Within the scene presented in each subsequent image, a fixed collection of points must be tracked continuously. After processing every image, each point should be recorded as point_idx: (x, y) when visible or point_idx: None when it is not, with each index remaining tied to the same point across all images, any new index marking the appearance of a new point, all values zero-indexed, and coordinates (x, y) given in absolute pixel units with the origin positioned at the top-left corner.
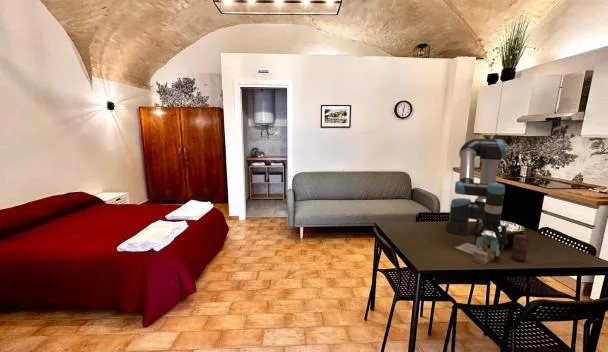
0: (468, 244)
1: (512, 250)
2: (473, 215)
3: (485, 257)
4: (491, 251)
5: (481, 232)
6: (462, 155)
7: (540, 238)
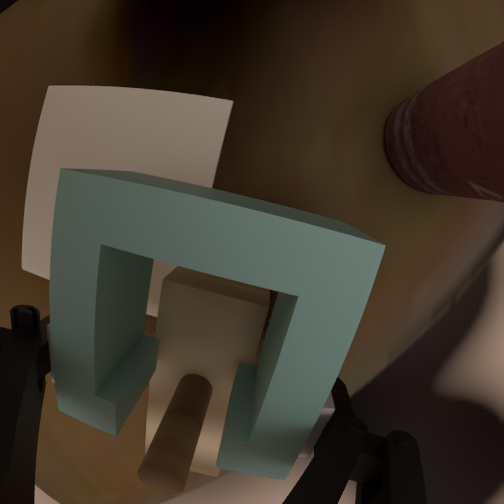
0: (58, 113)
1: (417, 146)
2: None
3: None
4: None
5: (33, 439)
6: None
7: None
